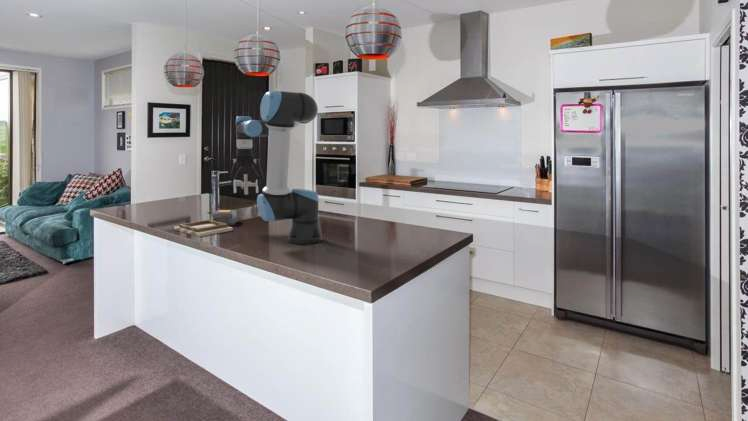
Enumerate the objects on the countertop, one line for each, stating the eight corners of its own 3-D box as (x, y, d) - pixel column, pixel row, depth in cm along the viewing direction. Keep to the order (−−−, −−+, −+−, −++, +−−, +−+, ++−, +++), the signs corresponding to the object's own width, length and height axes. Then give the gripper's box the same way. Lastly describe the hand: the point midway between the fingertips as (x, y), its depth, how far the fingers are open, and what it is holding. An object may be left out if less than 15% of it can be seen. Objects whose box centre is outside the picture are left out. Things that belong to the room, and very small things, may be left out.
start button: (229, 217, 233) (229, 211, 233) (217, 217, 233) (217, 211, 232) (232, 215, 239) (231, 210, 239) (220, 215, 239) (220, 209, 238)
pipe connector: (259, 193, 228) (258, 173, 227) (252, 195, 219) (251, 175, 217) (240, 192, 229) (239, 173, 227) (232, 195, 219) (231, 175, 218)
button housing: (233, 224, 232) (233, 213, 231) (211, 224, 231) (211, 213, 230) (238, 220, 242) (237, 210, 241) (217, 220, 241) (216, 209, 240)
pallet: (232, 230, 219) (232, 224, 218) (199, 236, 205) (198, 230, 204) (207, 224, 232) (207, 218, 231) (174, 229, 218) (174, 223, 217)
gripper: (219, 148, 215) (221, 193, 219) (267, 148, 217) (268, 193, 221) (222, 147, 222) (224, 191, 226) (269, 148, 225) (270, 191, 228)
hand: (246, 192), depth 224 cm, fingers closed on pipe connector, 10 cm apart
